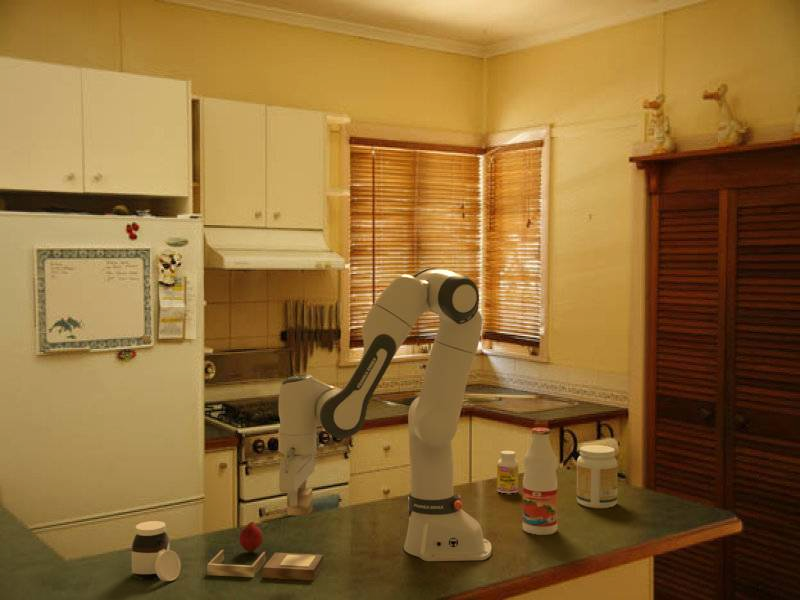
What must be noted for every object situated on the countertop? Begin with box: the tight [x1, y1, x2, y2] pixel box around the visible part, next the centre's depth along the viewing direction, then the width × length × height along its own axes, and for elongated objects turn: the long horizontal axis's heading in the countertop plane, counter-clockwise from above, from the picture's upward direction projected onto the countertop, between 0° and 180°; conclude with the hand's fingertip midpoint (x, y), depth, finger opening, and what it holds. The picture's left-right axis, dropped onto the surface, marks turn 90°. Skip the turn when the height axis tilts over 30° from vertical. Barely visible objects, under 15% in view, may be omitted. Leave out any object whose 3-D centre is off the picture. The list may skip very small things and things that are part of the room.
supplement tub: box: [576, 444, 619, 509], centre depth 257 cm, size 12×12×17 cm
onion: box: [238, 520, 264, 553], centre depth 214 cm, size 6×6×8 cm
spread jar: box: [131, 520, 182, 582], centre depth 198 cm, size 12×11×12 cm
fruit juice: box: [522, 427, 559, 536], centre depth 232 cm, size 9×9×28 cm
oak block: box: [286, 487, 314, 517], centre depth 201 cm, size 5×5×5 cm
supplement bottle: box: [496, 450, 519, 494], centre depth 270 cm, size 7×7×13 cm
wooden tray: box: [206, 549, 324, 582], centre depth 202 cm, size 26×10×3 cm, turn 82°
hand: (297, 501), depth 201 cm, fingers closed on oak block, 5 cm apart
